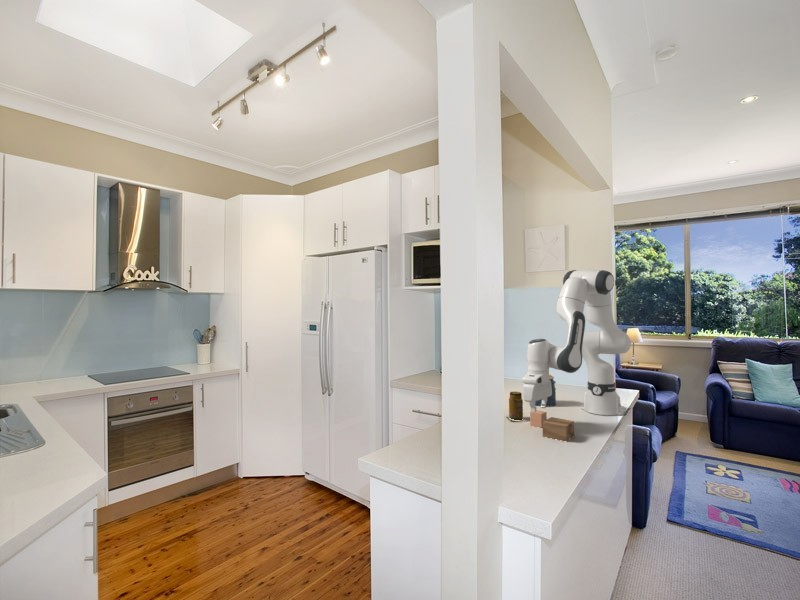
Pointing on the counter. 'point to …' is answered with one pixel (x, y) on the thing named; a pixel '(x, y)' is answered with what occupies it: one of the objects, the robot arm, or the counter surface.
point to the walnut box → (558, 429)
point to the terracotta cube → (537, 418)
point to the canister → (552, 399)
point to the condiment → (516, 406)
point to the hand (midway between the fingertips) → (538, 409)
